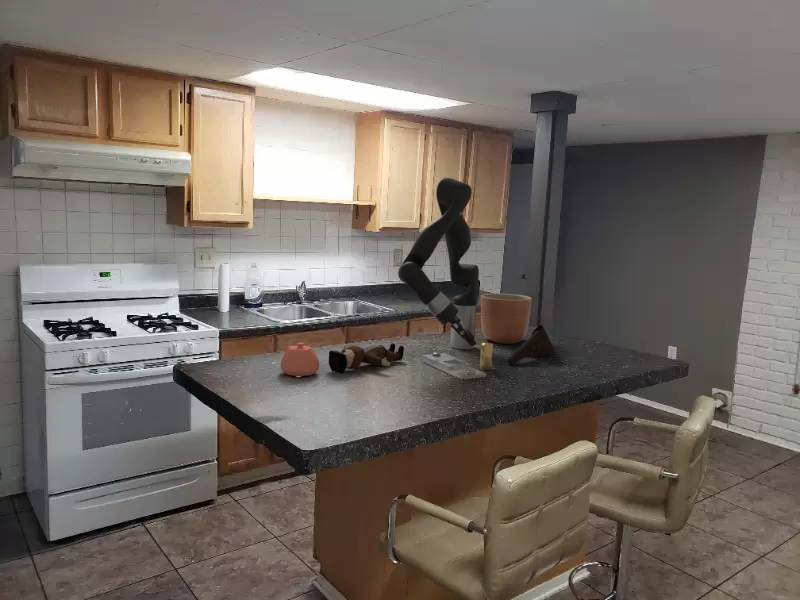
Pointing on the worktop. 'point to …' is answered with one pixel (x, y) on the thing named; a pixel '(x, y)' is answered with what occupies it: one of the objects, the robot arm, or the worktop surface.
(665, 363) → the worktop surface
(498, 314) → the planter
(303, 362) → the sugar bowl
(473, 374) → the grey metal plate
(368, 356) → the toy
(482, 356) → the pin
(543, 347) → the holster
